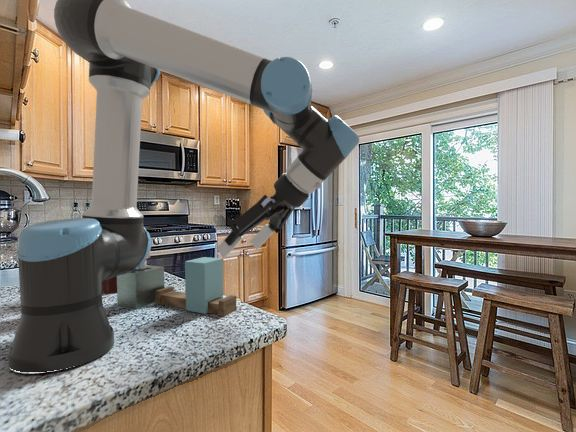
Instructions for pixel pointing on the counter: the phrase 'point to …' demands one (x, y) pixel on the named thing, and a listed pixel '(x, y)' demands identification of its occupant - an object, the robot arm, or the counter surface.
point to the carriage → (203, 283)
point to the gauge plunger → (143, 265)
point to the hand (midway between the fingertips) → (238, 248)
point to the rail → (179, 300)
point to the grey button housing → (139, 287)
